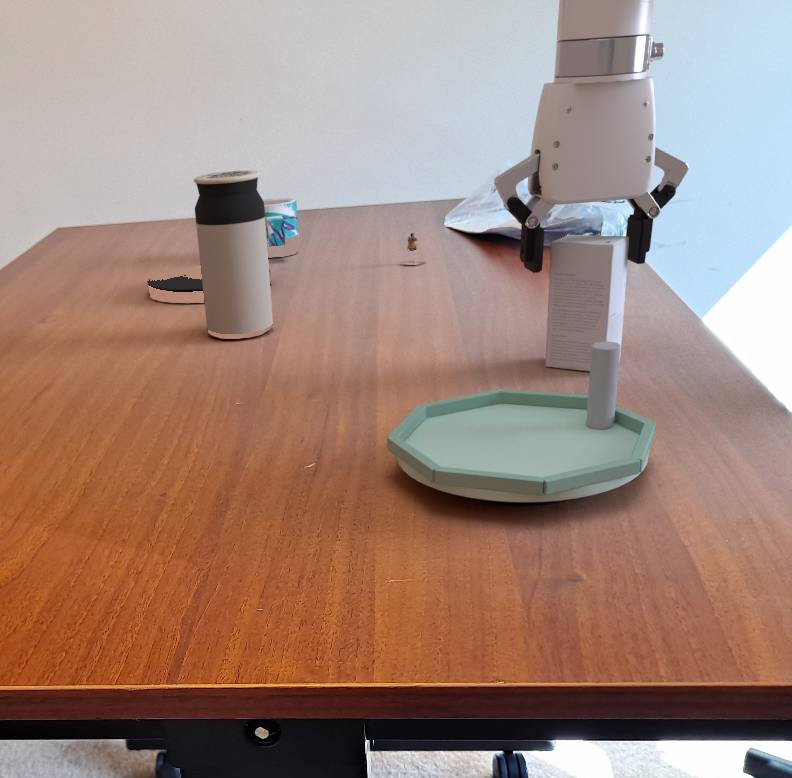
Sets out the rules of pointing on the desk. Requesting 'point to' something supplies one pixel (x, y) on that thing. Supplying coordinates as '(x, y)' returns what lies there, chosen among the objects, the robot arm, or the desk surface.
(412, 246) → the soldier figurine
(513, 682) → the desk surface
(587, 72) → the robot arm
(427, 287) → the desk surface
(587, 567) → the desk surface
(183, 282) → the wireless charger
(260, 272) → the travel mug
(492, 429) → the tray
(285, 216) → the mug
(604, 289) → the cosmetic box
